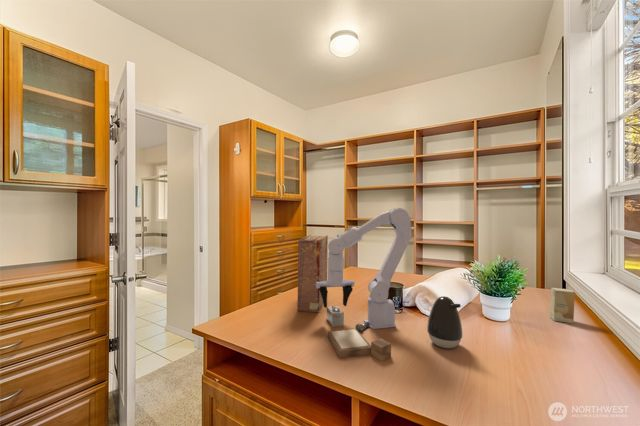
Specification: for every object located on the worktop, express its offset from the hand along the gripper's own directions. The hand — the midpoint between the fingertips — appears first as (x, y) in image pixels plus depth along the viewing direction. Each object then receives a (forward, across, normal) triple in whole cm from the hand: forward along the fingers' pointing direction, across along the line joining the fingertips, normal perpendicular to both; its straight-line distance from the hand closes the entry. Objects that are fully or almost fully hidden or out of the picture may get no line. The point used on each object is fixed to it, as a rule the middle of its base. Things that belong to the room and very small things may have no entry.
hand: (335, 306), depth 103 cm
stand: (+6, +1, +18) cm, 19 cm away
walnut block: (+6, -6, +26) cm, 27 cm away
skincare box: (+6, -88, +17) cm, 90 cm away
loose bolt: (+6, -9, +8) cm, 13 cm away
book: (+6, +3, -24) cm, 25 cm away
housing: (+6, 0, 0) cm, 6 cm away
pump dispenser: (+6, -29, +24) cm, 38 cm away
